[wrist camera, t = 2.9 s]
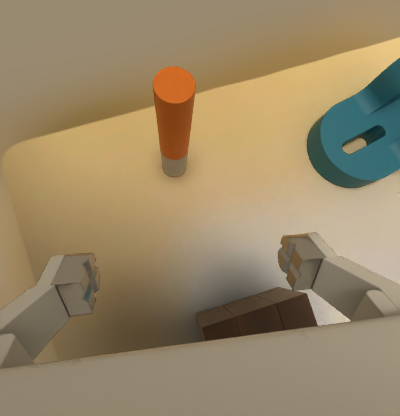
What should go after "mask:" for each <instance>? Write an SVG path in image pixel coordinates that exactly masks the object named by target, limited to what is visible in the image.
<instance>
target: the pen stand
mask: <svg viewBox="0 0 400 416" xmlns="http://www.w3.org/2000/svg"><path fill="white" fill-rule="evenodd" d="M196 317H197V321H198V325H199V329H200V333H201V337H202V341H211V340H218V339H226V338H233V337H241V336H248V335H255V334H263V333H270V332H277V331H285V330H292V329H299V328H307V327H314V326H318V325H317V322H316V319H315V317H314V314H313V311H312V308H311V305H310V302H309V299H308V296H307V294H306V293H302V292H298V291H294V290H289V289H285V288H280V287H278V288H275V289H272V290H269V291H265V292H262V293H259V294H256V295H253V296H250V297H246V298H243V299H240V300H237V301H234V302H231V303H228V304H224V305H221V306H218V307H215V308H212V309H209V310H205V311H202V312H199V313H196Z"/></svg>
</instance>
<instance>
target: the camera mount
mask: <svg viewBox="0 0 400 416" xmlns="http://www.w3.org/2000/svg"><path fill="white" fill-rule="evenodd" d="M358 137H362V138H364V139H365V140H366V141H367V146H366V147H364V148H362V149H360V150H358V151H357V152H355V153H353V154H346V153H345V152H344V151H343V149H342V146H343V145H345V144H347V143H349V142H351V141H353V140H355V139H357V138H358ZM307 149H308V154H309V158H310V160H311V162H312V164H313V166H314V168H315V169H316V170H317V171H318V173H319V174H320V175H322V176H323V177H324V178H325V179H327V180H328V181H330V182H331V183H333V184H336V185H338V186H342V187H347V188H357V187H362V186H365V185H367V184H369V183H372V182H374V181H377V180H379V179H382V178H384V177H386V176H388V175H390V174H391V173H393V172H395V171H397V170H398V169H400V58H399V59H398V60H396V61H395V62H394V63H393V64H391V65H390V66H389V67H388V68H387V69H385V70H384V71H383V72H382V73H381V74H380V75H379V76H378V77H376V78H375V79H374V80H373V81H372V82H371V83H370V84H369V85H368V86H366V87H365V88H364V89H363V90H361V91H360V92H359V93H357V94H355V95H354V96H352V97H350V98H348V99H346V100H344V101H342V102H340V103H338V104H336V105H334V106H333V107H331V108H330V109H329V110H328V111H327V112H326V113H325V114H324V115H323V116H322V117H321V118H320V119H319V120H318V121H317V122H316V123H315V124H314V125H313V127H312V128H311V130H310V132H309V135H308V140H307Z"/></svg>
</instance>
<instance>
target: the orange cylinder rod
mask: <svg viewBox="0 0 400 416" xmlns="http://www.w3.org/2000/svg"><path fill="white" fill-rule="evenodd" d="M195 88H196V85H195V81H194V79H193V77H192V75H191V74H190V73H189V72H188V71H186V70H184V69H182V68H179V67H167V68H164V69H162V70H160V71H159V72H158V73H157V74H156V75H155V77H154V80H153V92H154V100H155V108H156V117H157V125H158V133H159V142H160V150H161V158H162V167H163V170H164V172H165V173H166V174H167V175H168V176H171V177H178V176H180V175H182V174H183V173H184V172H185V169H186V163H187V154H188V146H189V138H190V130H191V122H192V113H193V105H194V97H195Z"/></svg>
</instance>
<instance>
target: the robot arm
mask: <svg viewBox="0 0 400 416" xmlns="http://www.w3.org/2000/svg"><path fill="white" fill-rule="evenodd" d="M281 244H282V246H283V247H282V248H281V249H279V251H278V263H279V266H280V268H281V270H282V271H283V272H285V273H286V274H287V277H286V279H287V281H288V283H289V284H290V286H291V288H292V290H304V289H312V291H314V292H315V293H316V294H318V295H319V296H320V297H322V298H323V299H324V300H325V301H327V302H328V303H329V304H331V305H332V306H333V307H334V308H336V309H337V310H338V311H340V312H341V313H342V314H343V315H345V316H346V317H347V318H349V319H350V320H351V321H350V322H344V323H336V324H329V325H322V326H314V327H307V328H299V329H292V330H285V331H277V332H270V333H263V334H255V335H248V336H241V337H233V338H226V339H218V340H211V341H203V342H196V343H188V344H181V345H173V346H166V347H159V348H151V349H144V350H136V351H129V352H121V353H114V354H107V355H99V356H92V357H84V358H77V359H69V360H62V361H55V362H47V363H40V364H35V363H34V362H33V360H34V359H35V358H36V356H37V355H38V354H39V353H40V352H41V351H42V349H43V348H44V347H45V346H46V345H47V344H48V343H49V341H50V340H51V339H52V338H53V337H54V336H55V335H56V333H57V332H58V331H59V330H60V329H61V328H62V326H63V325H64V324H65V323H66V322H67V321H68V320H69V318H70V317H72V316H79V315H86V314H92V313H93V309H94V306H95V302H96V297H95V293H96V292H97V291H98V290H99V286H100V271H99V268H98V267H97V266H96V265H94V264H95V261H96V258H95V255H94V253H77V254H67V255H54V256H52V257H51V258H50V260H49V262H48V263H47V265H46V267H45V269H44V271H43V273H42V275H41V277H40V279H39V280H38V282H37V284H36V286H35V287H32V288H30V289H28V290H27V291H26V292H25V293H23V294H22V295H20V296H19V297H18V298H16V299H15V300H13V301H12V302H11V303H9V305H7V306H5V307H4V308H3V309H1V310H0V416H400V285H399V284H397V283H395V282H393V281H391V280H388V279H386V278H384V277H382V276H380V275H378V274H376V273H374V272H372V271H370V270H368V269H366V268H364V267H362V266H360V265H358V264H356V263H354V262H352V261H350V260H348V259H346V258H344V257H342V256H339V257H338V256H337V255H336V254H335V252H334V251H333V250H332V249H331V248H330V247H329V245H328V244H327V243H326V242H325V241H324V240H323V239H322V237H321V236H320V235H319V234H318V233H316V232H314V233H305V234H297V235H286V236H283V237H282V239H281Z"/></svg>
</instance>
